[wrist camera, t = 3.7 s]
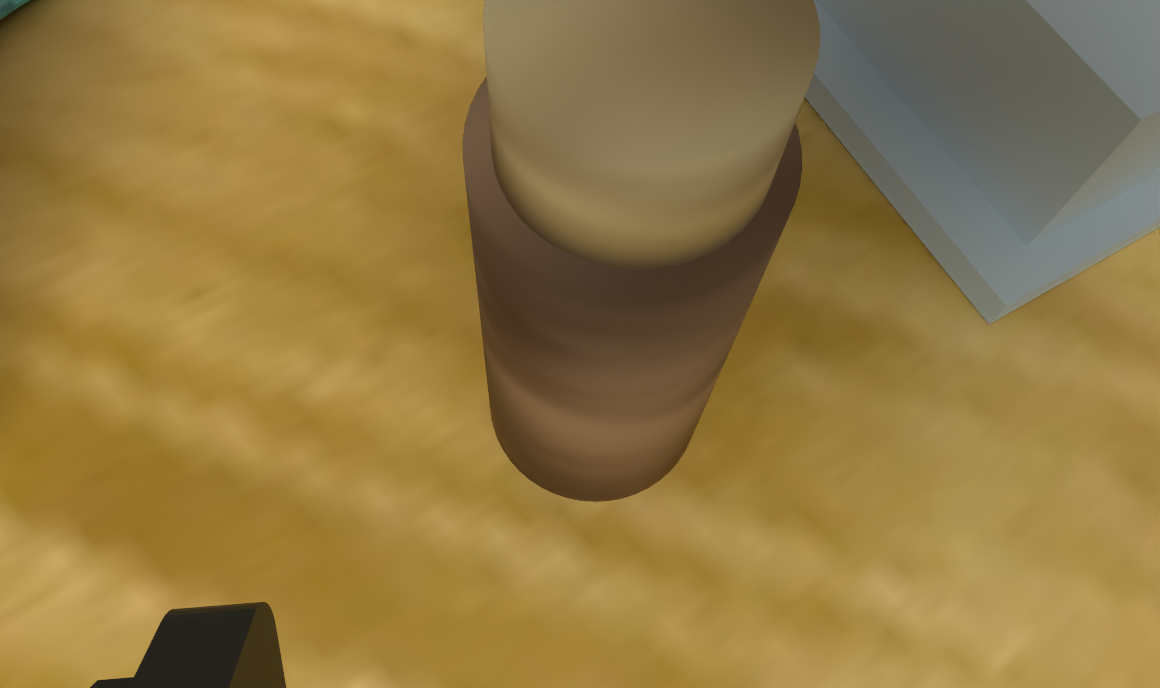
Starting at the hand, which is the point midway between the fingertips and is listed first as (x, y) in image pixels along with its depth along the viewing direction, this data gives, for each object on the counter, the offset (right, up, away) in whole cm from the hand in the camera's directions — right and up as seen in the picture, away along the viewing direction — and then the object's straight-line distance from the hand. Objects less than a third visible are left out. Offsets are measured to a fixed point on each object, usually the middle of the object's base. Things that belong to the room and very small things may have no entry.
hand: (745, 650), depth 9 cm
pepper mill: (-1, +1, +15) cm, 15 cm away
